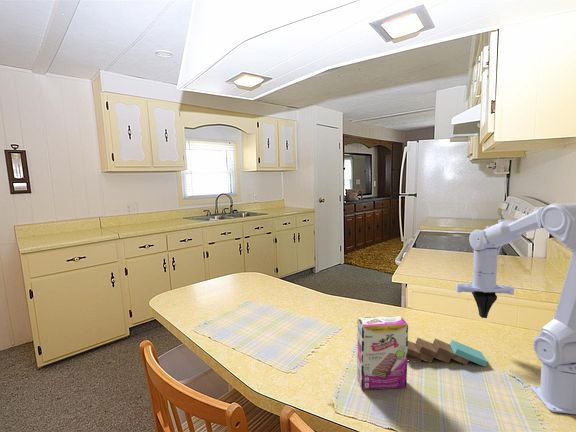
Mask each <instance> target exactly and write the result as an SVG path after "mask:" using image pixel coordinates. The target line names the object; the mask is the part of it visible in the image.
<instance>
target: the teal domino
mask: <svg viewBox="0 0 576 432" xmlns="http://www.w3.org/2000/svg"><path fill="white" fill-rule="evenodd" d="M449 344H450V346H451V348H452V350H453V352H454V354H456V355H458V356H460V357H463V358H465V359H467V360H469V362H473V363H475V364H477V365H478V366H479V365H480V366H482V367H485V368H486V366H487V364H489V363H488V362H489V361H488V360H487V358H486V357H485V355H484V354H483V353H482V351H480V350H477V349H475V348H472V347H470V346H468V345H465V344H463V343H460V342H458V341H456V340H454V339H452V340H451V341H450V343H449Z"/></svg>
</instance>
